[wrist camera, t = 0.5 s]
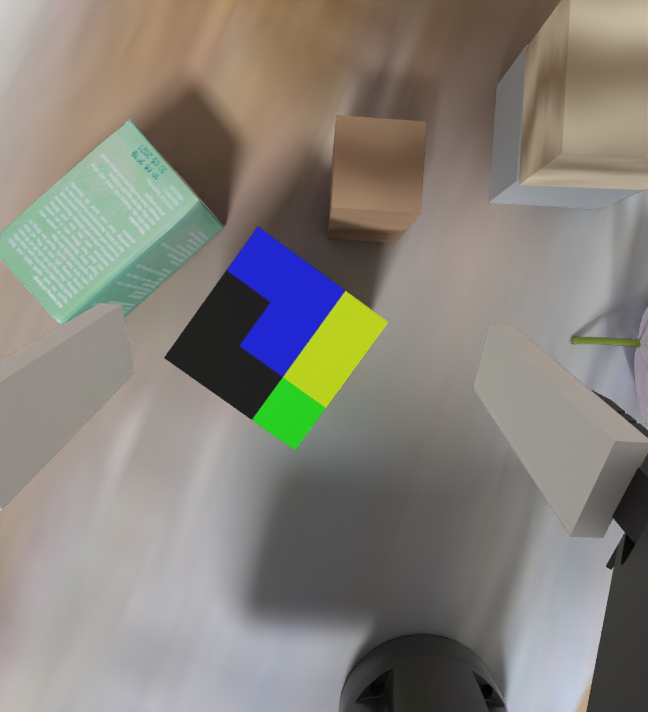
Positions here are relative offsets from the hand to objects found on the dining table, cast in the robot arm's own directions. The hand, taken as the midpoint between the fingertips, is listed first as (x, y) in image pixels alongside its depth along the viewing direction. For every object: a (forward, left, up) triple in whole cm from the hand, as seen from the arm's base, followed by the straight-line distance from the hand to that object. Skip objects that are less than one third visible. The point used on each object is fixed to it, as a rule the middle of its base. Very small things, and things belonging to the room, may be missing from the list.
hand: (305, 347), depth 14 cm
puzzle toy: (0, +2, -20) cm, 20 cm away
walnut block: (+12, -4, -20) cm, 24 cm away
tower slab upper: (+18, -20, -15) cm, 31 cm away
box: (+7, +15, -20) cm, 26 cm away
